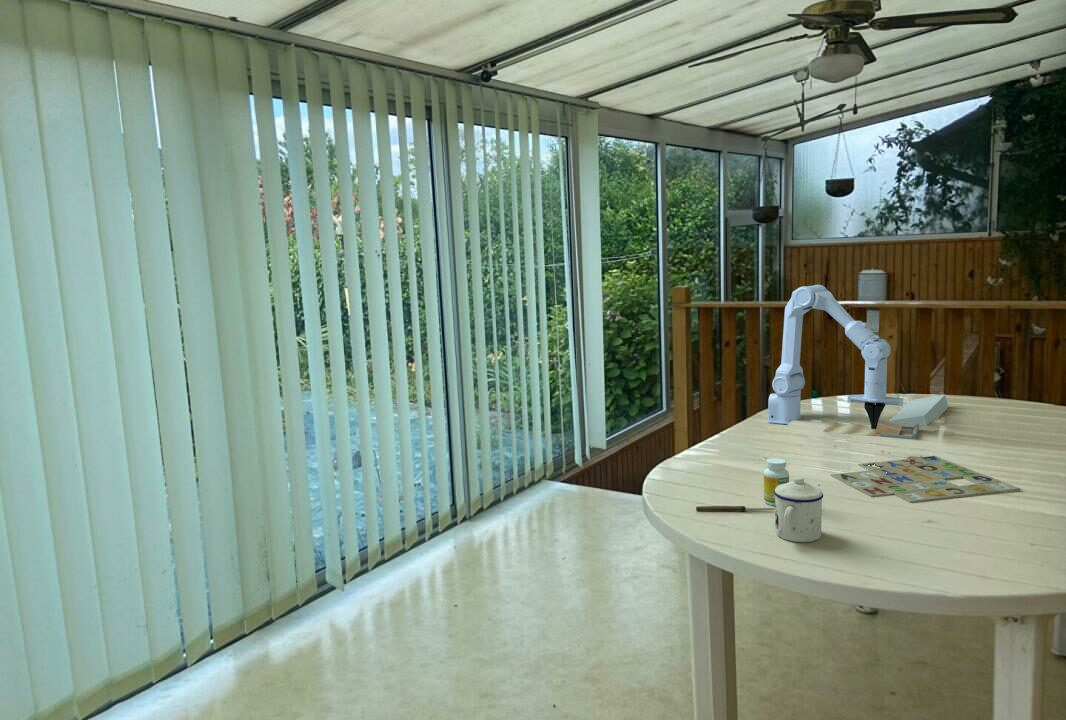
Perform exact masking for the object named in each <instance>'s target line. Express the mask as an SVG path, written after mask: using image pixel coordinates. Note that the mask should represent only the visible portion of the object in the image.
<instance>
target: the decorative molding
mask: <svg viewBox="0 0 1066 720" xmlns="http://www.w3.org/2000/svg"><path fill="white" fill-rule="evenodd" d="M948 408H949V404H948V399H947V397H946V394H941V395H934V396H929V397H928V396H927V397H921V398H915V399H912V400H911V401H910V402H909V403H907V404H906V405H905V406H903V408H902V409H901V410H900V411H898V412H897V413H895V414H894V416H893V417H891V418H890V419H889V420H888V422H891V423H895V424H909V425H914V426H915V425H916V424H919V426H925V427H927V426H928V425H929V424H930V423H931V422H932V421H938V420H937V419H940V417H941V416H942V415H943V414H944V413H945V412H946V411H947V410H948Z"/></svg>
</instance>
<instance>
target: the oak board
mask: <svg viewBox="0 0 1066 720" xmlns="http://www.w3.org/2000/svg"><path fill="white" fill-rule="evenodd" d="M875 431H876V429H871V424H870V425H868V424H857V423H856V424H855V423H843V422H829V424H828V425H827V426H826V427H825V429H823V432H825V433H835V434H846V435H847V434H848V435H858V436H869V437H879V436H880V433H877V432H875Z"/></svg>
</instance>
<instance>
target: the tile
mask: <svg viewBox="0 0 1066 720" xmlns="http://www.w3.org/2000/svg"><path fill="white" fill-rule="evenodd" d="M902 426H903V425H900V424H898V423H895V422H889V421H888V420H883V419H881V418H879V421H878V425H877V428H876V431H875V432H877V433H882V434H893V435H901V434H900V433H901V431H902V430H903V429H902Z"/></svg>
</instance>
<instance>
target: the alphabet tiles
mask: <svg viewBox="0 0 1066 720" xmlns="http://www.w3.org/2000/svg"><path fill="white" fill-rule="evenodd" d="M874 464H875V466H877V467H880V468H877V467H873V466H872V465H874ZM858 465H859V467H860V466H861V468H862V467H863V469H865V468H866V469H865V470H862V471H861V470H860V471H852V472H842V473H833V474H830V477H832V478H834V479H836V480H838V481H840V482H842V483H843V484H845V485H847V486H849V487H851V488H853V489H855V490H857V491H858V492H860V493H863V494H865V495H867V497H870V498H876V497H877V498H878V497H887V496H895V497H897V498H898V499H899V498H900V499H902V500H903V501H905V502H907V503H909V504H915V503H924V502H933V501H940V500H949V499H950V500H951V499H956V498H957V499H960V498H968V497H976V496H985V495H986V496H987V494H988V495H995V493H998V494H1005V493H1004V492H1007V493H1012V492H1011V491H1017V492H1021V491H1020V490H1021V488H1020V487H1019V486H1015V485H1013V484H1010V483H1007V482H1005V481H1003V480H999V479H998V478H995V477H991V476H989V475H987V474H985V473H984V474H983V473H980V472H978V471H975V470H974V469H973V470H972V469H970V468H967V467H965V466H963V465H960V464H957V463H955V462H952V461H949V460H947V459H944V458H941V457H938V456H935V455H932V456H931V455H930V456H924V457H923V456H922V457H917V458H916V457H912V458H911V457H910V458H904V459H903V458H901V459H893V460H885V461H873V462H864V463H857V466H858ZM868 465H870V466H868ZM867 469H868V470H867ZM886 472H887V473H886ZM867 473H869V474H867ZM961 479H963V480H965V479H966V481H968V482H970V483H973V484H965V485H960V486H959V485H958V484H955V483H953V482H951V480H961Z"/></svg>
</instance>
